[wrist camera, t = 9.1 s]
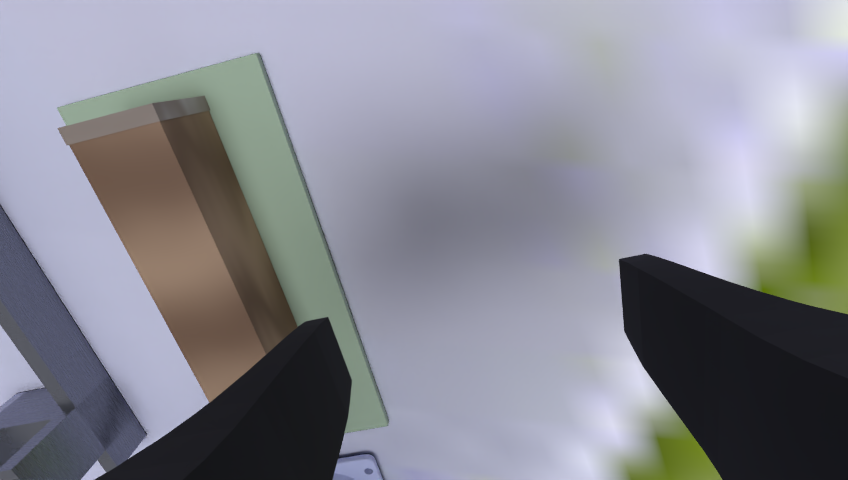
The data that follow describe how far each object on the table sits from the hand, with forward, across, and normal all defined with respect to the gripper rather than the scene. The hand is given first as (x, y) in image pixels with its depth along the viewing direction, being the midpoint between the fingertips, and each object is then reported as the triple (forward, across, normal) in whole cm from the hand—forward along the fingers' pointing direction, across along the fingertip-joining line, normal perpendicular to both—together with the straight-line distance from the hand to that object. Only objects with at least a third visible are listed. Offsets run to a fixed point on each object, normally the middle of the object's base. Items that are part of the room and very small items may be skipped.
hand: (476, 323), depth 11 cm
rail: (+9, +11, +2) cm, 15 cm away
